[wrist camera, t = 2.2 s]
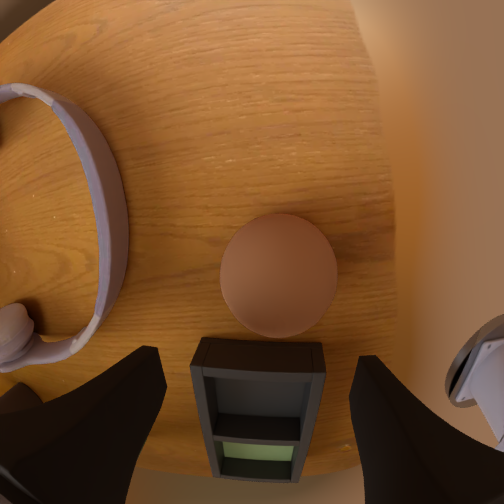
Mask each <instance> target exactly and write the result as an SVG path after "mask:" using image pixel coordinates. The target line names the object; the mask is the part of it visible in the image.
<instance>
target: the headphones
mask: <svg viewBox="0 0 504 504" xmlns="http://www.w3.org/2000/svg"><path fill="white" fill-rule="evenodd" d="M21 96H25V97H30V98H36V97H37V98H39V99H40V100H42V101H44V102H45V103H46V104H48V105H49V106H51V107H52V110H53V111H54V113H55V114H56V115H57V116H58V117H59V119H60V120H61V121H62V123H63V124H64V126H65V128H66V130H67V132H68V134H69V136H70V138H71V140H72V142H73V144H74V146H75V148H76V150H77V152H78V155H79V157H80V160H81V162H82V165H83V169H84V172H85V175H86V178H87V182H88V186H89V190H90V194H91V198H92V203H93V208H94V213H95V218H96V224H97V231H98V242H99V288H98V296H97V300H96V304H95V313H94V315H93V317H92V320H91V321H90V323H89V325H88V327H84V328H82V330H81V331H80V332H79V333H78V334H77V335H76V336H73V337H71V338H69V339H66V340H63V341H58V342H49V343H47V342H44V341H42V338H41V336H40V335H39V334H38V333H35V332H33V329H34V321H33V320H32V319H30V318H29V316H28V315H27V310H26V308H25V306H24V305H22V304H20V303H13V304H10V305H7V306H4V307H2V308H0V372H3V373H4V372H11V371H13V370H16V369H19V368H22V367H24V366H26V365H31V364H46V363H54V362H58V361H61V360H63V359H66V358H68V357H70V356H71V355H73V354H75V353H77V352H78V351H79V350H80V349H81V348H82V347H83V346H84V345H85V344H86V343H87V342H88V341H89V339H90V338H91V337H92V336H93V334H94V333H95V332H96V330H97V329H98V328H99V327H100V325H101V324H102V323H103V321H104V320H105V319H106V318H107V316H108V314H109V313H110V311H111V309H112V308H113V306H114V304H115V302H116V299H117V297H118V295H119V292H120V289H121V286H122V283H123V280H124V276H125V271H126V266H127V259H128V246H129V223H128V212H127V206H126V201H125V195H124V190H123V185H122V180H121V176H120V173H119V170H118V167H117V164H116V161H115V159H114V157H113V154H112V152H111V150H110V148H109V146H108V143H107V141H106V139H105V138H104V136H103V135H102V133H101V131H100V130H99V128H98V127H97V126H96V124H95V123H94V121H93V120H92V119H91V118H90V117H89V116H88V115H87V114H86V113H85V112H84V111H83V110H82V109H81V108H80V107H79V106H77V105H76V104H75V103H73V102H72V101H70V100H69V99H67V98H66V97H64V96H62V95H60V94H58V93H55V92H53V91H50V90H46V89H43V88H39V87H36V86H33V85H29V84H24V83H9V84H4V85H0V104H1V103H3V102H5V101H7V100H10V99H13V98H17V97H21Z"/></svg>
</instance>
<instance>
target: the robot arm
mask: <svg viewBox="0 0 504 504" xmlns="http://www.w3.org/2000/svg"><path fill="white" fill-rule="evenodd" d="M166 389H167V384H166V380H165V376H164V372H163V368H162V364H161V360H160V356H159V352H158V348H157V347H151V346H144V345H143V346H141V347H140V348H138V349H136V350H135V351H133V352H132V353H131V354H129V355H128V356H126V357H125V358H123V359H122V360H121V361H119V362H118V363H116V364H115V365H113V366H112V367H110V368H109V369H107V370H106V371H105V372H103V373H102V374H100V375H98V376H97V377H95V378H93V379H92V380H90V381H88V382H87V383H85V384H84V385H82V386H80V387H78V388H77V389H75V390H73V391H71V392H69V393H67V394H65V395H62V396H60V397H58V398H56V399H54V400H51V401H48V402H45V403H43V404H40V405H37V406H34V407H31V408H27V409H24V410H20V411H15V412H10V413H5V414H0V504H125V500H126V496H127V492H128V488H129V485H130V481H131V477H132V474H133V471H134V467H135V465H136V461H137V459H138V456H139V454H140V451H141V449H142V447H143V445H144V443H145V441H146V439H147V437H148V435H149V432H150V430H151V428H152V426H153V424H154V422H155V420H156V418H157V415H158V413H159V411H160V409H161V406H162V403H163V400H164V396H165V393H166ZM472 398H474V399H475V400H476V402H477V404H478V406H479V407H480V409H481V411H482V412H483V414H484V416H485V418H486V420H487V421H488V423H489V425H490V427H491V429H492V431H493V433H494V435H495V437H496V438H497V440H498V442H499V444H498V445H497V446H496V447H495V449H494V448H492V447H489V446H487V445H485V444H482V443H480V442H478V441H476V440H474V439H472V438H471V437H469V436H467V435H465V434H464V433H462V432H460V431H459V430H457V429H455V428H454V427H452V426H451V425H449V424H448V423H447V422H445V421H444V420H443V419H441V418H440V417H439V416H437V415H436V414H435V413H433V412H432V411H431V410H430V409H429V408H428V407H426V406H425V405H424V404H423V403H422V402H421V401H420V400H419V399H417V398H416V397H415V396H414V395H413V394H412V393H411V392H410V391H409V390H408V389H407V388H406V387H405V386H404V385H403V384H402V383H401V382H400V381H399V380H398V379H397V378H396V377H395V375H394V374H392V372H391V371H390V370H389V369H388V368H387V367H386V366H385V365H384V364H383V363H382V361H381V360H380V359H379V358H378V357H377V356H376V355H367V356H359V359H358V363H357V367H356V371H355V375H354V379H353V383H352V386H351V390H350V394H349V401H350V411H351V420H352V424H353V429H354V433H355V438H356V442H357V446H358V451H359V455H360V460H361V464H362V470H363V476H364V489H365V504H504V338H500V339H495V340H489V341H485V342H484V343H483V344H482V345H481V348H480V350H479V352H478V355H477V357H476V359H475V361H474V363H473V366H472V368H471V370H470V372H469V374H468V376H467V378H466V380H465V382H464V384H463V386H462V388H461V390H460V391H459V393H458V395H457V397H456V401H457V402H461V401H465V400H469V399H472Z"/></svg>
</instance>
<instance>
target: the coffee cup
mask: <svg viewBox="0 0 504 504" xmlns="http://www.w3.org/2000/svg"><path fill="white" fill-rule="evenodd" d="M40 404H43V403H42V402H41V400H40V399H39V398H38V396H37V395H36V394H35V393H34V392H33V391H32V390H31V389H30V388H29V387H27V386H26V385H24V384H23V383H17V384H16V385H15V386H14V387H12V388H11V389H10V390H9V391H7V392H6V393H5V394H4V395H2V396H1V397H0V414H5V413H10V412H15V411H20V410H24V409H27V408H31V407H34V406H37V405H40Z"/></svg>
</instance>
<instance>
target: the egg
mask: <svg viewBox="0 0 504 504" xmlns="http://www.w3.org/2000/svg"><path fill="white" fill-rule="evenodd" d="M337 280H338V271H337V261H336V258H335V255H334V252H333V249H332V247H331V245H330V243H329V242H328V240H327V238H326V237H325V236H324V235H323V234H322V232H321V231H320V230H319V229H318V228H317V227H315V226H314V225H313V224H311V223H310V222H308V221H307V220H305V219H302V218H300V217H297V216H294V215H291V214H279V213H275V214H268V215H264V216H261V217H258V218H255V219H253V220H252V221H250V222H249V223H247V224H246V225H244V226H243V227H242V228H241V229H240V230H238V231H237V232H236V233H235V234H234V236H233V237H232V239H231V241H230V242H229V244H228V245H227V247H226V250H225V252H224V255H223V258H222V261H221V268H220V286H221V290H222V294H223V298H224V300H225V302H226V303H227V305H228V307H229V309H230V310H231V312H232V314H233V315H234V316H235V317H236V319H237V320H238V321H239V322H240V323H241V324H243V325H244V326H245V327H246V328H248V329H249V330H251V331H253V332H255V333H257V334H259V335H262V336H266V337H270V338H285V337H289V336H294V335H298V334H300V333H302V332H304V331H306V330H307V329H309V328H310V327H312V326H313V325H315V324H316V323H317V322H318V321H319V320H320V319H321V317H322V316H323V315H324V313H325V312H326V311H327V309H328V308H329V306H330V305H331V303H332V301H333V298H334V296H335V293H336V287H337Z"/></svg>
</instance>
